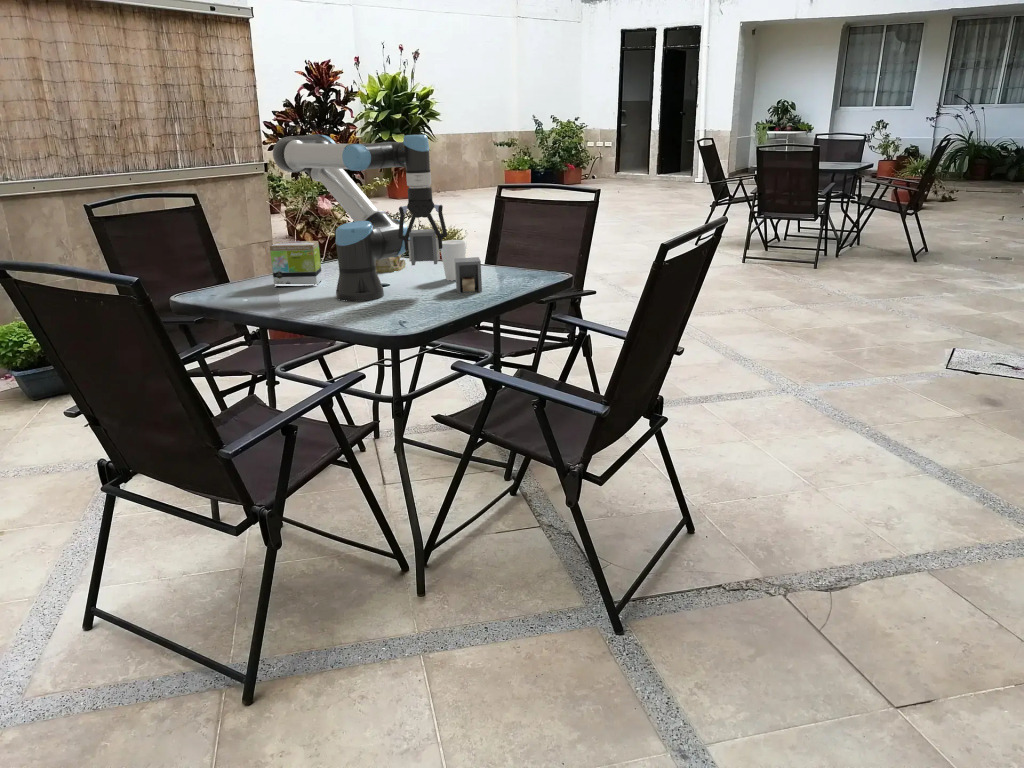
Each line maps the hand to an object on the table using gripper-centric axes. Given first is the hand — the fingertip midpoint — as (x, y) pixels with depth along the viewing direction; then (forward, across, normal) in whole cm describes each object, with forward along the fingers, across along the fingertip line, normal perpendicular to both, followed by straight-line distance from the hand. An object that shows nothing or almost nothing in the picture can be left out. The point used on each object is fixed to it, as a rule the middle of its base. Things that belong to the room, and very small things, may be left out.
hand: (424, 260), depth 249 cm
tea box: (+11, -46, +27) cm, 54 cm away
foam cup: (+11, +9, +24) cm, 28 cm away
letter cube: (+11, +14, +4) cm, 18 cm away
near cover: (+1, 0, 0) cm, 1 cm away
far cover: (+11, +14, +4) cm, 18 cm away
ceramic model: (+11, -16, +49) cm, 53 cm away
